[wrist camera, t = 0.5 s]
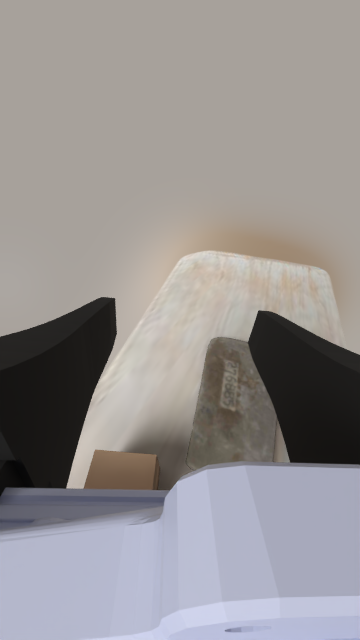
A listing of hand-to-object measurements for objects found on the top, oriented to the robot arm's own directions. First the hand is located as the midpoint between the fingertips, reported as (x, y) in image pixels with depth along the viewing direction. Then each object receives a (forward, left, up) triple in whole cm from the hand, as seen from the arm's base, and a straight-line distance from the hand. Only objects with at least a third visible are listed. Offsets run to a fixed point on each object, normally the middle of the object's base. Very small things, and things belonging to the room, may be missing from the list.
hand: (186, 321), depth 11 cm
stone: (+4, -7, -19) cm, 20 cm away
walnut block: (-6, +4, -18) cm, 19 cm away
